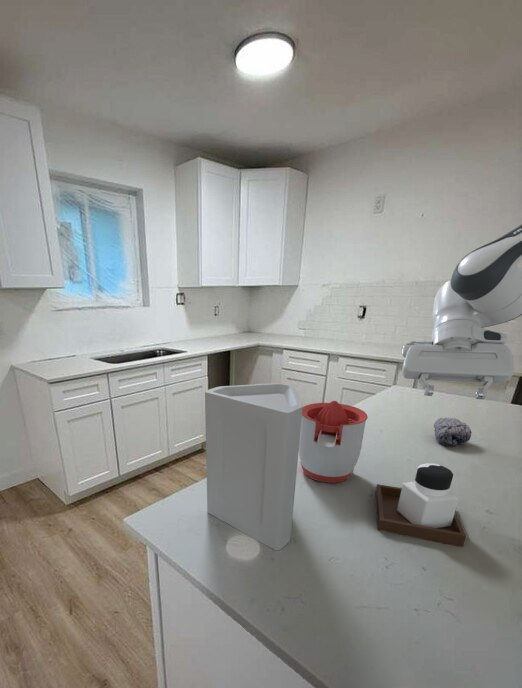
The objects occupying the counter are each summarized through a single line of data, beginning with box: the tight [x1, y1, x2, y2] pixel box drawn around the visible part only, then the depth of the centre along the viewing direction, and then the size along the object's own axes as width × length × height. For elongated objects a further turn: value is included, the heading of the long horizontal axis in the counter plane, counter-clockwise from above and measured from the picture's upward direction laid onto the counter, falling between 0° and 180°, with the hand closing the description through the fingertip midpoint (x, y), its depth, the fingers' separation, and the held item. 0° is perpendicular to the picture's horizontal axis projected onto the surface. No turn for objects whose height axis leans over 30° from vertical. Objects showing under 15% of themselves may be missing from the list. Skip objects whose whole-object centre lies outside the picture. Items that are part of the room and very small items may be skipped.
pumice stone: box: [433, 417, 472, 448], centre depth 109 cm, size 10×8×10 cm
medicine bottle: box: [397, 462, 460, 528], centre depth 73 cm, size 7×7×12 cm
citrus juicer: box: [298, 400, 369, 484], centre depth 91 cm, size 16×17×20 cm
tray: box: [374, 483, 467, 548], centre depth 77 cm, size 15×15×3 cm
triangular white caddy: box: [204, 382, 304, 551], centre depth 74 cm, size 19×15×28 cm
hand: (454, 396), depth 77 cm, fingers open, 8 cm apart
